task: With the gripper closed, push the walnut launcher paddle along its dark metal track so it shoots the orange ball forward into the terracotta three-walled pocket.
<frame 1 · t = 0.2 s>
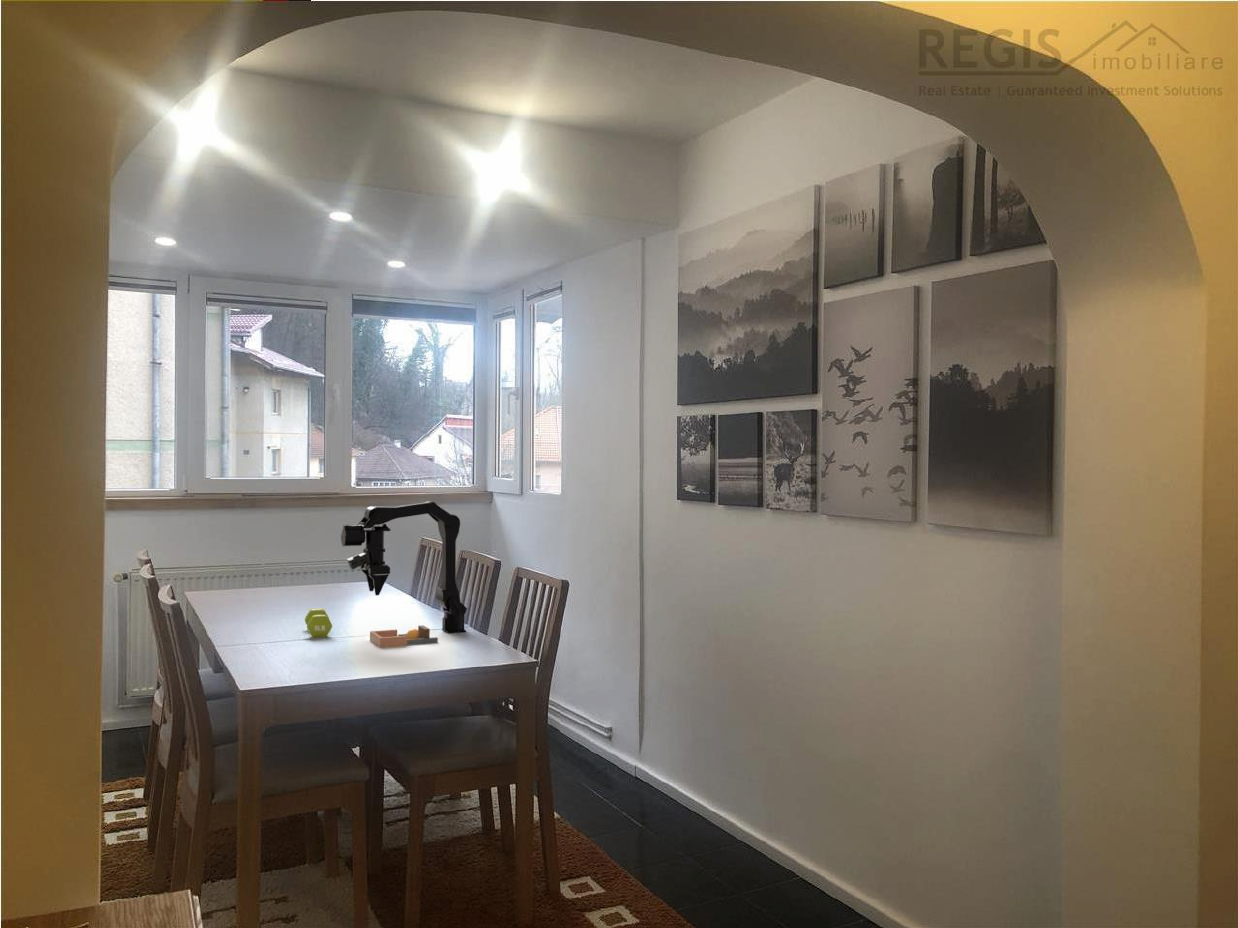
hand: (374, 593, 306), 14 cm above the table, tool pointing down, fingers open, 9 cm apart
launcher: (423, 633, 303), point 2 cm above the table, slide at 0.0 cm
track: (417, 640, 302), on the table
pocket: (389, 642, 298), on the table
dumbbell: (318, 634, 312), on the table
ball: (413, 634, 302), point 2 cm above the table
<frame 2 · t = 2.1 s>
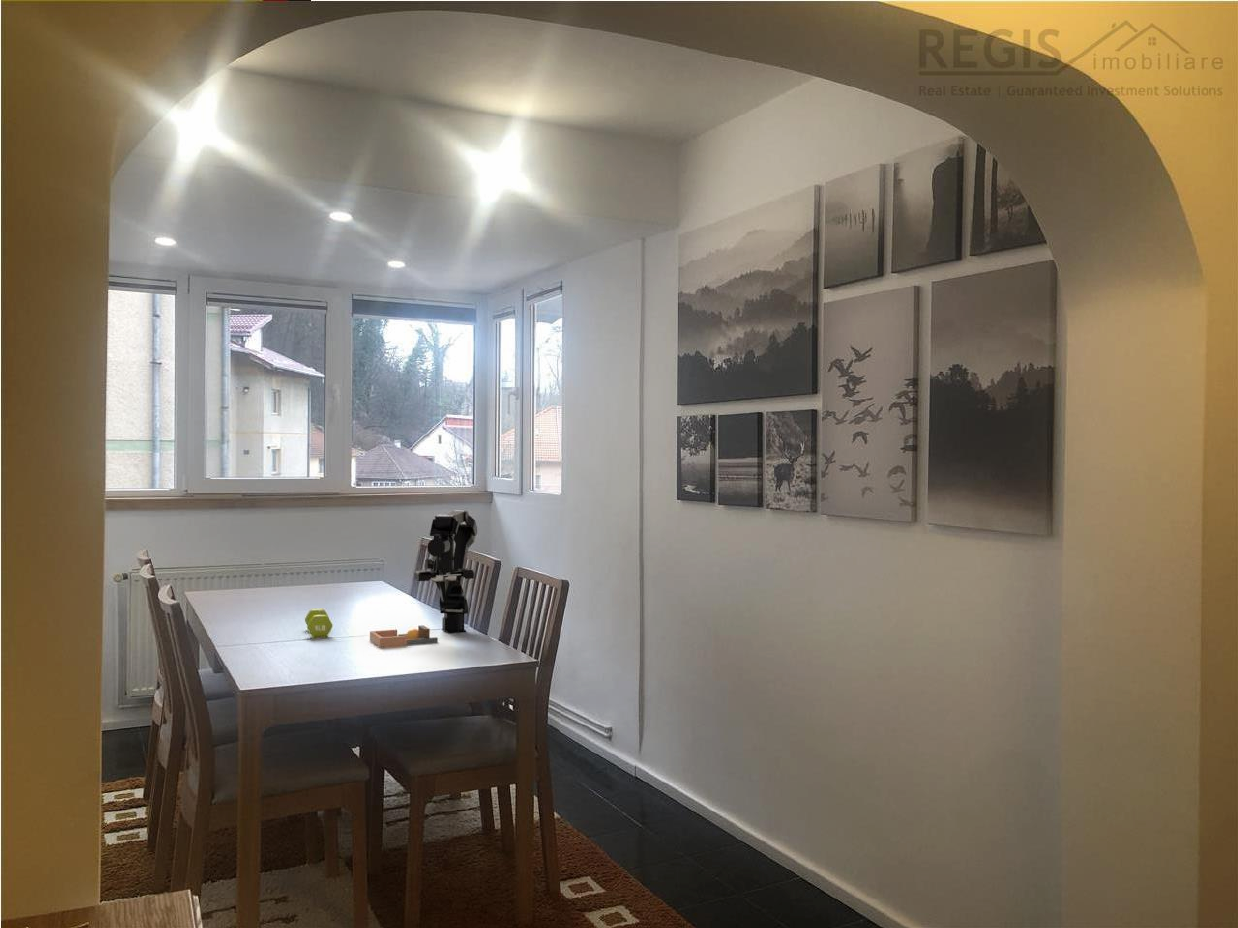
hand: (443, 601, 306), 12 cm above the table, tool pointing down, fingers closed
nothing on the table moved.
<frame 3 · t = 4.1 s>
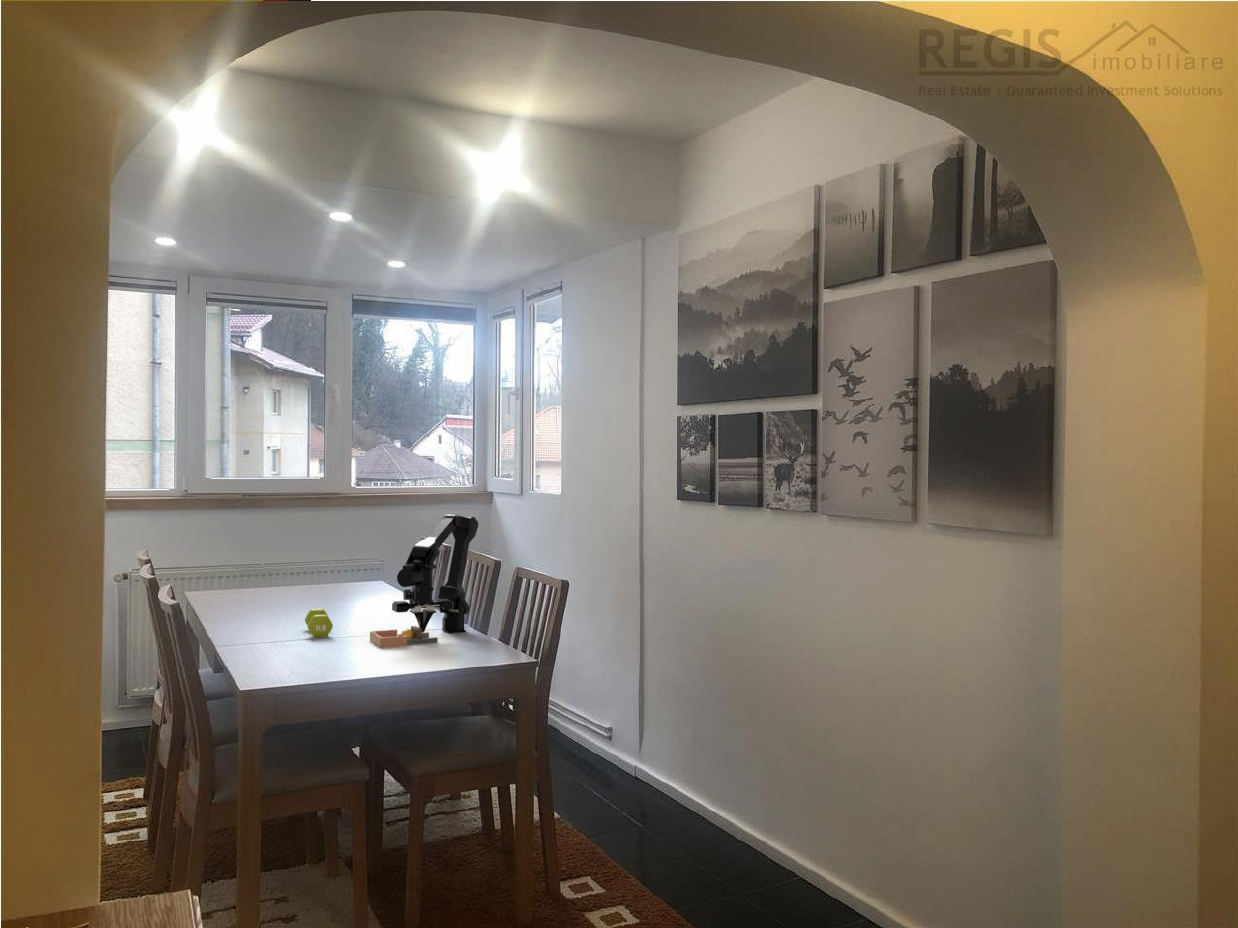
hand: (422, 632, 303), 3 cm above the table, tool pointing down, fingers closed
launcher: (416, 633, 302), point 2 cm above the table, slide at 2.5 cm, touching gripper
ball: (407, 635, 301), point 2 cm above the table, tilted 51°
everything else where it was.
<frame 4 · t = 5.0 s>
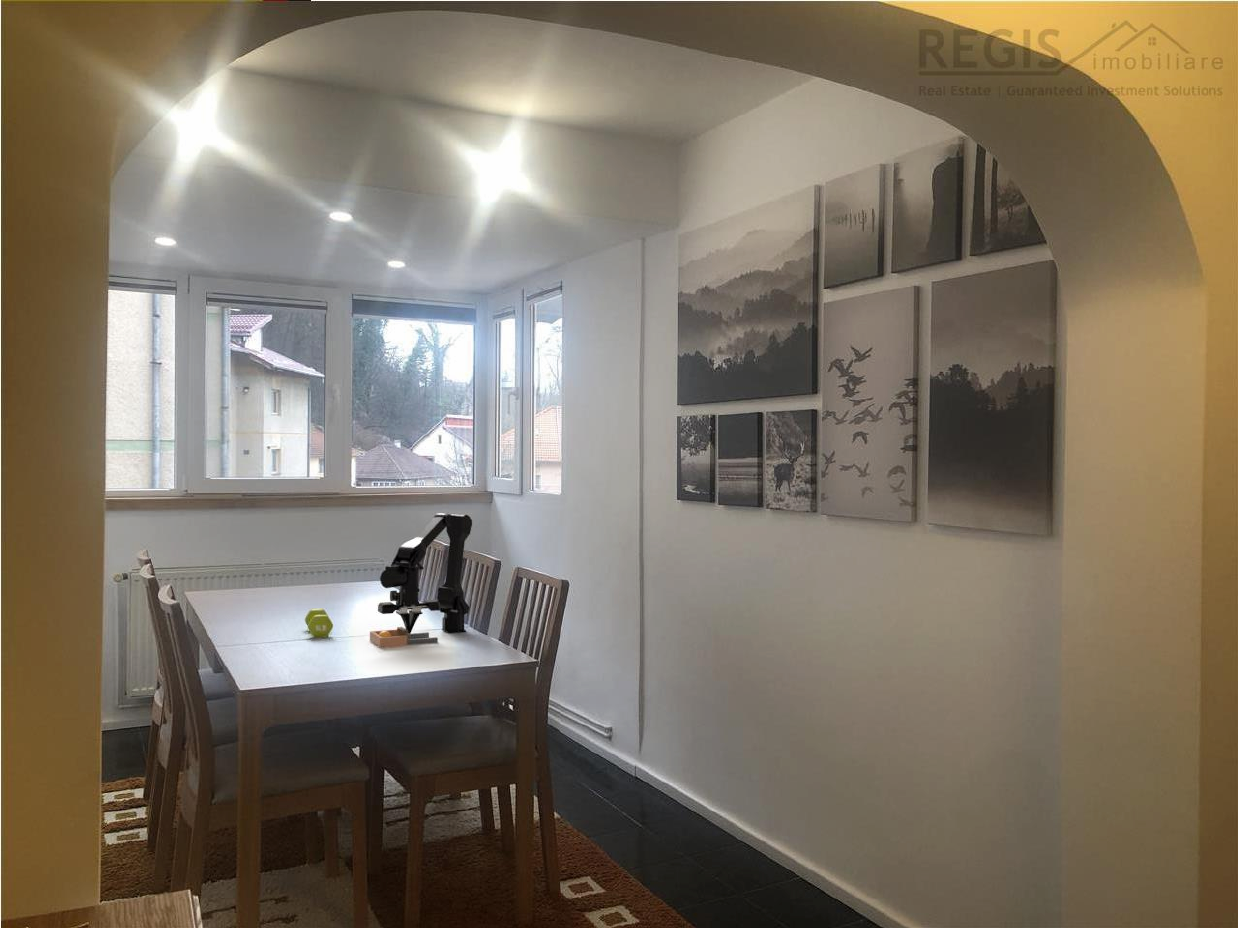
hand: (408, 633, 301), 3 cm above the table, tool pointing down, fingers closed
launcher: (402, 635, 300), point 2 cm above the table, slide at 7.0 cm, touching gripper
ball: (384, 637, 297), point 2 cm above the table, tilted 100°
everything else where it was.
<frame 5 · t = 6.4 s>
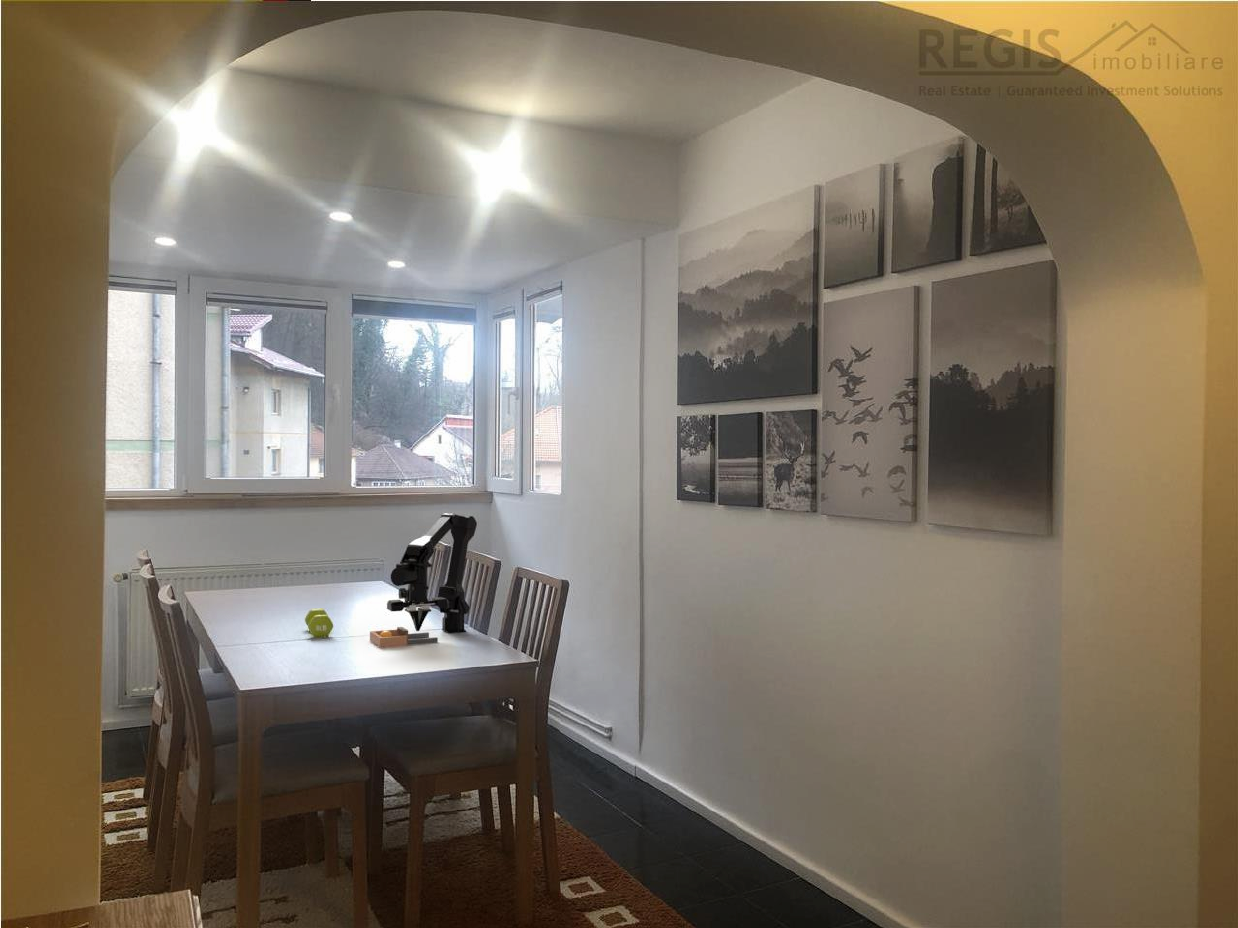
hand: (417, 630, 302), 3 cm above the table, tool pointing down, fingers closed
launcher: (402, 635, 300), point 2 cm above the table, slide at 7.0 cm
ball: (386, 636, 297), point 2 cm above the table, tilted 114°
everything else where it was.
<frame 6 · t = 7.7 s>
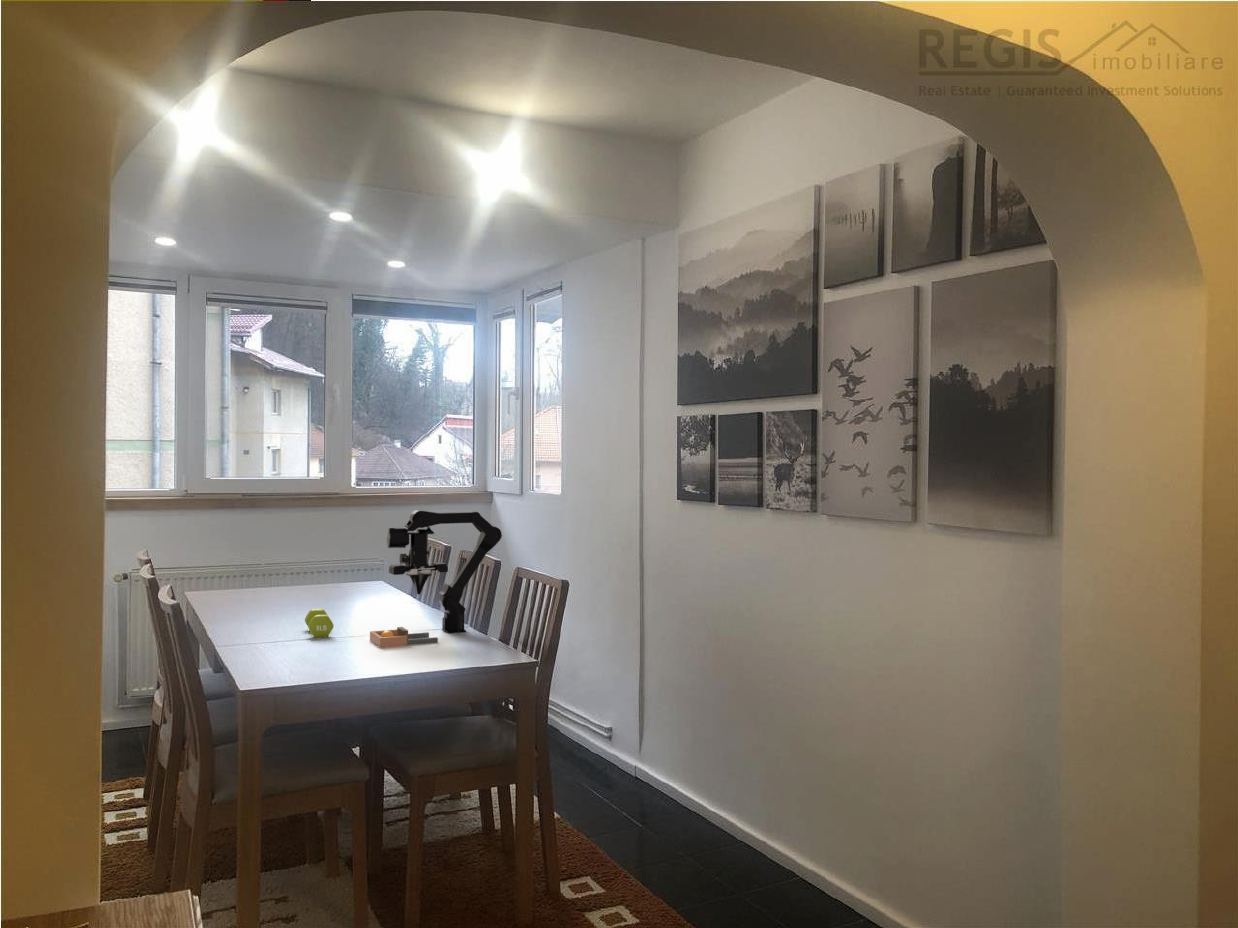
hand: (418, 594, 315), 13 cm above the table, tool pointing down, fingers closed
ball: (387, 636, 298), point 2 cm above the table, tilted 127°
everything else where it was.
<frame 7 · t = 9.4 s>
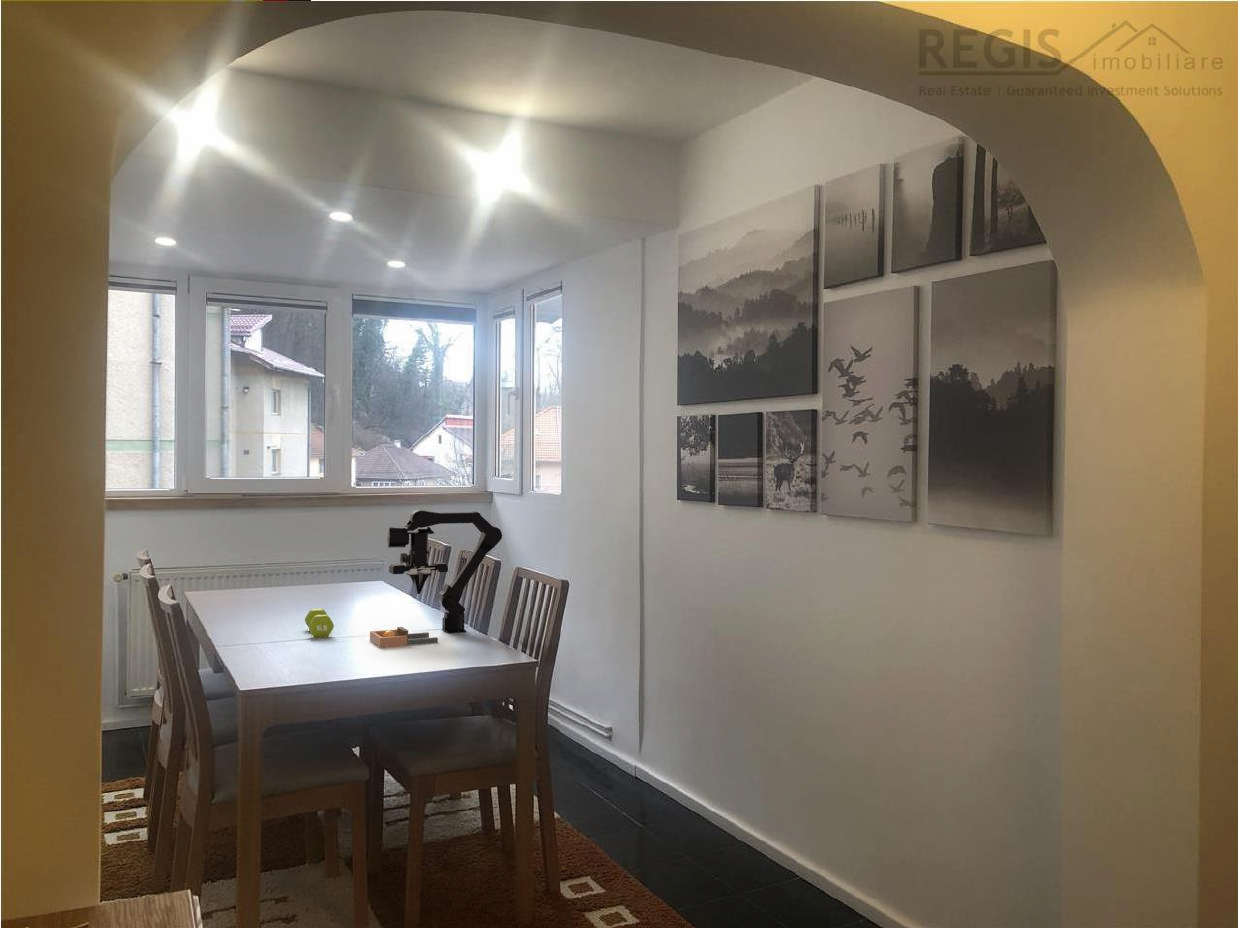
hand: (418, 593, 315), 13 cm above the table, tool pointing down, fingers closed
ball: (389, 636, 298), point 2 cm above the table, tilted 143°
everything else where it was.
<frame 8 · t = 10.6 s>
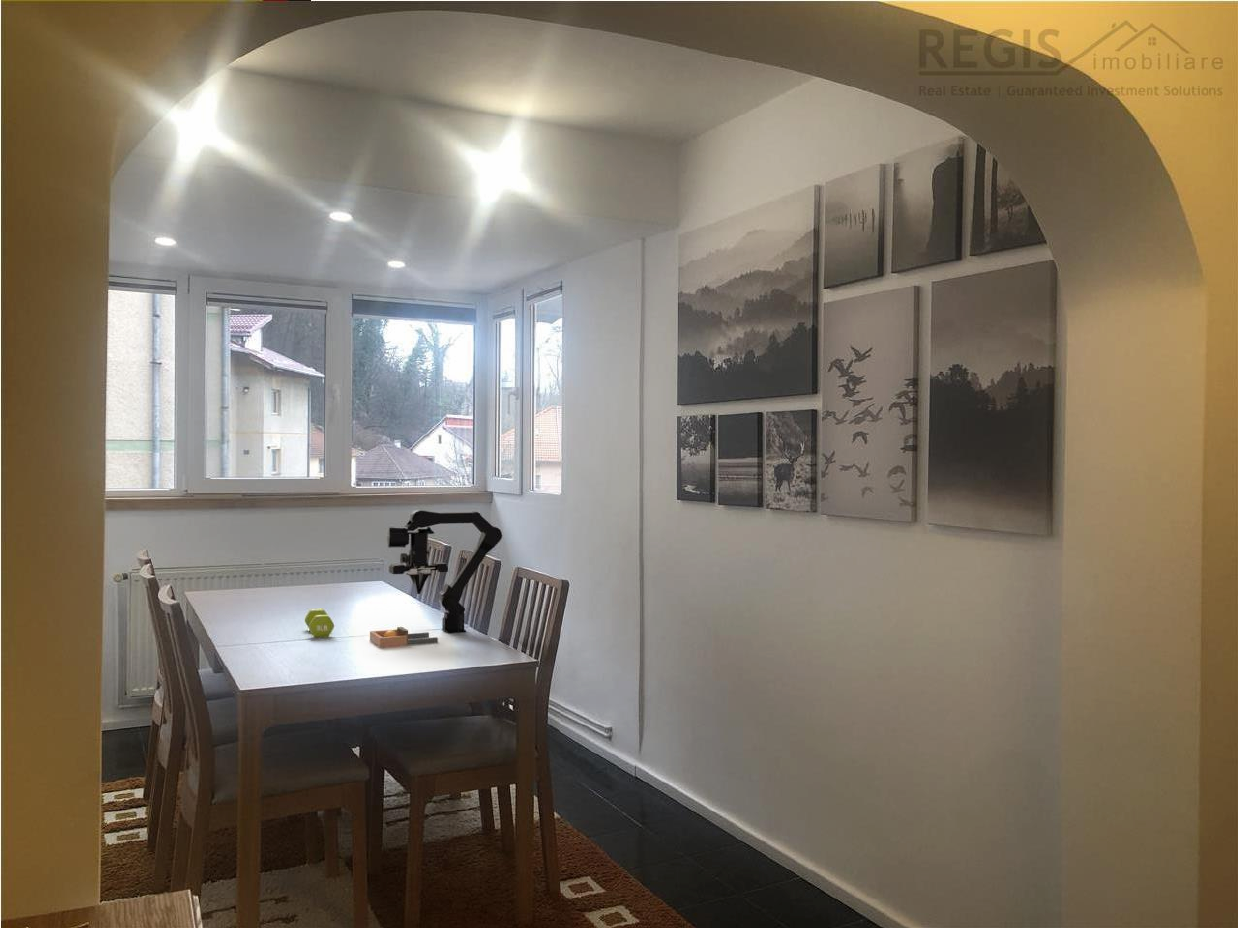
hand: (418, 593, 315), 13 cm above the table, tool pointing down, fingers closed
ball: (390, 636, 298), point 2 cm above the table, tilted 155°
everything else where it was.
at the end: ball inside the target area (0.4 cm from its centre), point 2.0 cm above the table; launcher slide at 7.0 cm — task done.
